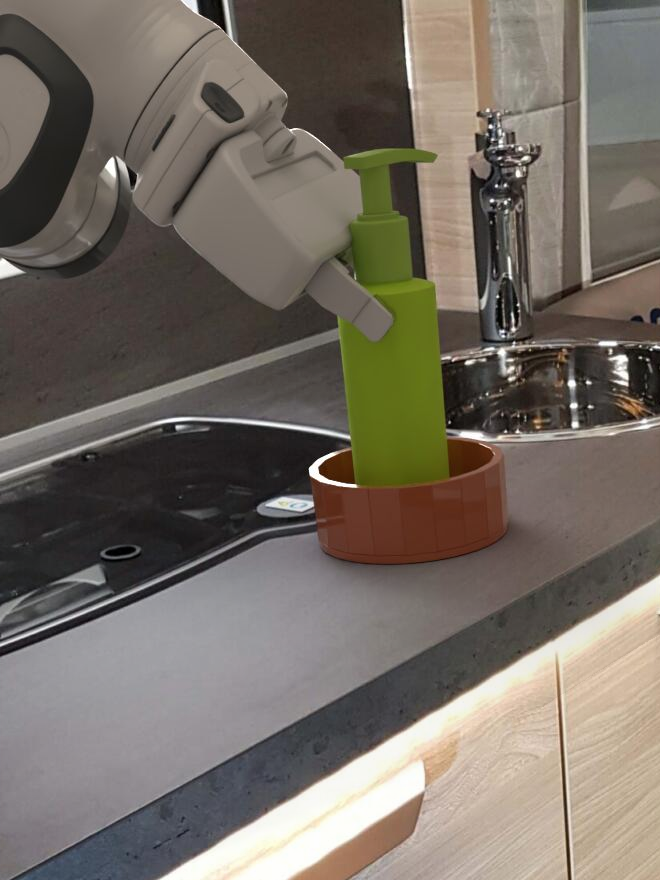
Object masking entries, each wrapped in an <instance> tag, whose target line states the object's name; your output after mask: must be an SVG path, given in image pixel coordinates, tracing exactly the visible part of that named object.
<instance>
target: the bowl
mask: <svg viewBox="0 0 660 880" xmlns="http://www.w3.org/2000/svg"><path fill="white" fill-rule="evenodd" d="M447 449H448V462H449V475H450V478H447V479H442V480H437V481H432V482H424V483H415V484H406V485H389V486H364V485H355V475H354V466H353V457H352V448H351V446H350V447H346V448H343V449H339V450H336V451H333V452H331V453H329V454H326V455H324V456H322V457H320V458H318V459H317V460H316V461H314V462H313V463H312V465H310V466H309V468H308V473H309V479H310V487H311V494H312V502H313V510H314V516H315V524H316V532H317V537H318V538H317V539H318V545H319V547H320V549H321V550H322V551H323V552H324V553H326V554H328V555H330V556H331V557H334V558H336V559H340V560H344V561H349V562H354V563H363V564H374V565H375V564H376V565H401V564H403V565H404V564H417V563H424V562H432V561H433V562H434V561H439V560H445V559H450V558H454V557H459V556H462V555H465V554H469V553H472V552H476V551H478V550H481V549H483V548H486V547H488V546H490V545H492V544H494V543H495V542H497V541H499V540H501V538H502V537H504V536H505V534H506V533H507V530H508V527H509V526H508V520H509V512H508V509H509V508H508V495H507V481H506V466H505V465H506V464H505V455H504V453H503V451H502V448H500V446H497V445H495V444H493V443H491V442H489V441H487V440H482V439H481V440H480V439H475V438H469V437H463V436H462V437H460V436H447Z"/></svg>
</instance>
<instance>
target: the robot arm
mask: <svg viewBox="0 0 660 880" xmlns="http://www.w3.org/2000/svg"><path fill="white" fill-rule="evenodd" d="M287 106H288V95H287V93H286V92H285V91H284V90H283V89H282V88H281V87H280V85H278V84H277V82H275V81H274V80H273V78H271V76H269V74H267V73H266V71H264V70H263V69H262V68H261V67H260V66H259V65H258V64H257V63H256V62H255V61H254V60H253V59H252V58H251V57H250V56H249V55H248V54H247V53H246V51H244V50H243V49H242V48H241V47H240V46H239V45H238V43H236V42H235V41H234V40H233V39H232V38H231V36H229V35H228V34H227V33H226V32H225V31H224V30H223V29H222V28H221V27H220V26H219V25H217V23H215V22H214V21H212V20H210V19H208V18H207V17H205V16H203V15H201V14H199V13H198V12H197V11H195V10H193V9H192V8H190V6H189V5H188V4H186V3H185V2H184V1H183V0H0V257H1V258H2V259H3V260H5V261H6V262H7V263H9V264H10V265H11V266H13V267H14V268H16V269H18V270H19V271H21V272H23V273H26V274H28V275H31V276H34V277H36V278H41V279H46V280H67V279H73V278H77V277H80V276H82V275H85V274H87V273H90V272H91V271H93V270H94V269H96V268H97V267H99V266H101V265H102V264H103V263H104V262H105V261H106V260H107V259H109V258H110V256H111V255H112V254H113V253H114V251H116V249H117V247H118V246H119V244H120V242H121V240H122V238H123V236H124V235H125V232H126V229H127V226H128V223H129V219H130V213H131V207H132V206H131V205H132V202H133V204H134V205H135V206H136V208H137V209H138V210H139V211H140V212H141V213H142V214H143V215H145V217H146V218H148V219H149V220H150V221H151V222H153V223H154V224H155V225H156V226H158V227H163V228H165V227H169V226H171V225H172V226H173V227H174V229H175V231H176V232H177V233H178V235H179V237H181V238H182V240H183V241H184V242H186V243H187V244H188V245H189V246H190V247H191V248H192V249H193V250H194V251H195V252H196V253H197V254H199V255H200V256H201V257H202V258H203V259H205V260H206V262H207V263H209V264H210V265H211V266H212V267H214V268H215V269H216V270H217V271H218V272H220V274H221V275H223V276H224V277H225V278H227V279H228V280H230V282H231V283H232V284H234V285H235V286H236V287H237V288H239V289H240V290H241V291H242V292H243V293H245V294H246V295H247V296H249V297H251V299H253V300H255V301H257V302H259V303H261V304H263V305H265V306H266V307H268V308H271V309H273V310H276V311H281V310H284V309H285V308H286V307H288V306H290V305H291V304H292V303H294V302H296V301H297V300H298V299H300V298H301V297H303V296H305V295H307V294H308V295H309V296H310V297H311V298H312V299H313V300H314V301H315V302H317V304H319V305H320V307H322V308H323V309H325V310H327V311H329V312H331V313H332V314H334V315H336V317H337V316H339V317H341V318H343V319H344V320H346V321H348V322H349V323H352V324H353V325H354V326H355V327H356V328H357V329H358V330H359V331H361V332H362V333H363V334H364V335H365V336H366V337H367V338H368V339H369V340H370V341H372V342H378V341H380V340H381V339H382V338H383V337H384V336H385V335H386V334H387V333H388V332H389V330H390V329H391V328H392V326H393V325H394V324H395V322H396V320H397V315H396V312H395V311H394V310H393V309H392V308H391V307H389V306H388V305H387V303H386V302H385V301H384V300H383V299H382V298H381V297H380V296H379V295H378V294H376V295H374V296H373V295H372V294H371V293H370V292H368V291H367V290H366V289H365V288H364V287H362V286H361V285H360V284H359V283H358V282H356V281H355V278H353V277H352V276H351V275H350V270H349V269H348V267H349V266H350V268H352V269H353V270H354V264H353V255H352V242H353V236H352V233H351V230H350V221H352V220H354V219H357V215H358V214H360V213H363V206H362V196H361V186H360V175H359V174H358V173H357V172H356V171H354V169H345V168H344V160H342V159H341V158H340V157H339V156H338V155H337V154H336V153H335V152H333V150H331V149H330V148H329V147H328V146H326V145H325V144H324V143H323V142H321V141H320V139H318V138H317V137H315V136H314V135H313V134H312V133H310V132H308V131H306V130H304V129H303V128H292V129H289V128H288V127H286V125H285V124H284V123H283V122H282V120H283V117H284V115H285V112H286V109H287ZM127 167H128V168H129V170H131V171H132V172H133V173H134V174H135V175H137V176H136V182H135V185H134V189H133V191H132V190H131V188H132V187H131V181H130V176H129V172H128V168H127Z"/></svg>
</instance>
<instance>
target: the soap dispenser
mask: <svg viewBox="0 0 660 880" xmlns="http://www.w3.org/2000/svg"><path fill="white" fill-rule="evenodd" d="M438 155H439V154H437V153H435V152H432V151H428V150H424V149H418V148H378V149H372V150H367V151H363V152H359V153H355V154H351V155H347V156H343V162H344V168H345V169H352V170H358V173H359V174H358V175H359V176H360V186H361V196H362V206H363V213H360V214H358V215H357V219H354V220H352V221H350V230H351V233H352V236H353V242H352V255H353V264H354V269H353V273H354V280H355V281H356V282H358V283H359V284H360V285H361V286H362V287H364V288H365V289H366V290H367V291H368V292H370V293H371V294H372V295H373V296H374V295H376V294H378V295H379V296H380V297H381V298H382V299H383V300H384V301H385V302H386V303H387V305H388V306H389V307H391V308H392V309H393V310H394V311H395V312H396V315H397V320H396V322H395V324H394V325H393V326H392V328H391V329H390V330H389V332H388V333H387V334H386V335H385V336H384V337H383V338H382V339H381V340H380V341H378V342H372V341H370V340H369V339H368V338H367V337H366V336H365V335H364V334H363V333H362V332H361V331H359V330H358V329H357V328H356V327H355V326H354V325H353V324H352V323H349V322H348V321H346V320H344V319H343V318H341V317H339V316H337V315H336V317H337V327H338V336H339V345H340V354H341V363H342V372H343V381H344V382H343V383H344V392H345V400H346V409H347V418H348V420H347V421H348V428H349V429H348V430H349V437H350V438H349V439H350V447H351V448H352V457H353V466H354V475H355V485H364V486H389V485H406V484H415V483H424V482H432V481H437V480H442V479H447V478H450V475H449V462H448V449H447V437H448V436H447V425H446V412H445V411H446V410H445V399H444V384H443V373H442V360H441V359H442V357H441V346H440V332H439V318H438V307H437V292H436V283H435V282H434V281H431V280H427V279H424V278H419V277H414V275H413V262H412V249H411V236H410V235H411V234H410V226H409V225H410V224H409V218H408V217H407V216H405V215H400V211H398V210H393V199H392V198H393V197H392V187H391V176H390V165H392V164H397V163H402V162H408V163H417V164H418V163H419V164H422V163H423V164H425V163H426V164H429V163H430V164H433V163H435V161H436V160H437V158H438Z"/></svg>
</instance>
